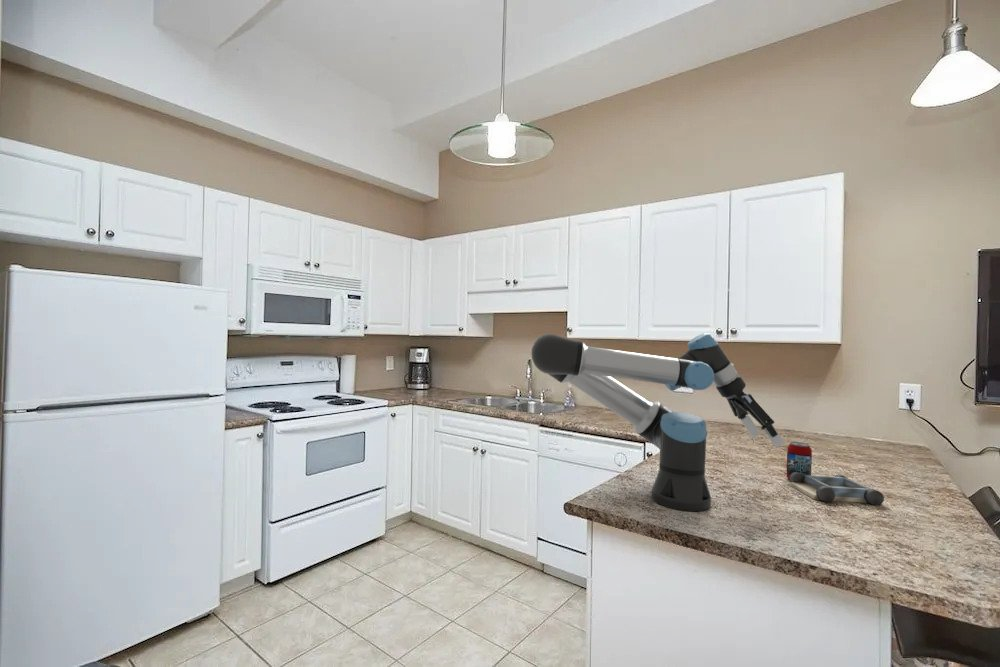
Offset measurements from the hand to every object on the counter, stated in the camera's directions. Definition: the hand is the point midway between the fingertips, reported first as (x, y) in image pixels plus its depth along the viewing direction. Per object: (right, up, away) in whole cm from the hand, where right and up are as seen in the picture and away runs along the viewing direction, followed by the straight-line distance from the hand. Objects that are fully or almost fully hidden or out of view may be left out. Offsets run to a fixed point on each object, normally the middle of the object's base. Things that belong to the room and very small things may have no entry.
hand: (767, 440), depth 139 cm
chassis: (+20, -16, 0) cm, 25 cm away
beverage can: (+17, -16, +13) cm, 27 cm away
